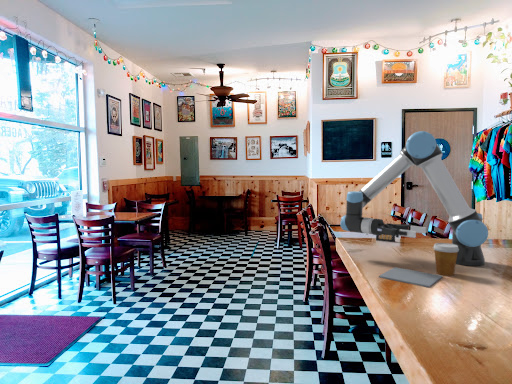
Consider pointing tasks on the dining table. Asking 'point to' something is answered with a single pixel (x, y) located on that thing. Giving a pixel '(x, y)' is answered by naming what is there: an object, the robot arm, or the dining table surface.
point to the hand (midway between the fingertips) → (421, 232)
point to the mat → (411, 277)
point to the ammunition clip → (386, 236)
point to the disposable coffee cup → (445, 258)
